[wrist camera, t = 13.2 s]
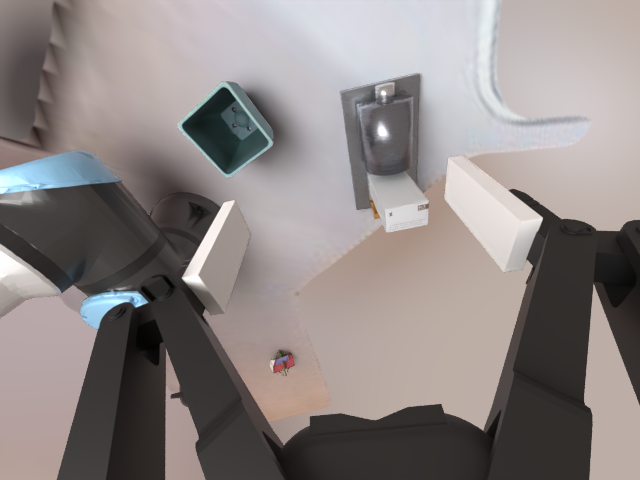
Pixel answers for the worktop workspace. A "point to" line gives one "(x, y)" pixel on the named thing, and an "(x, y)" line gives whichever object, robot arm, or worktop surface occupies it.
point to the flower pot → (227, 129)
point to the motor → (381, 132)
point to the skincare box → (398, 201)
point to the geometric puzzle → (281, 363)
